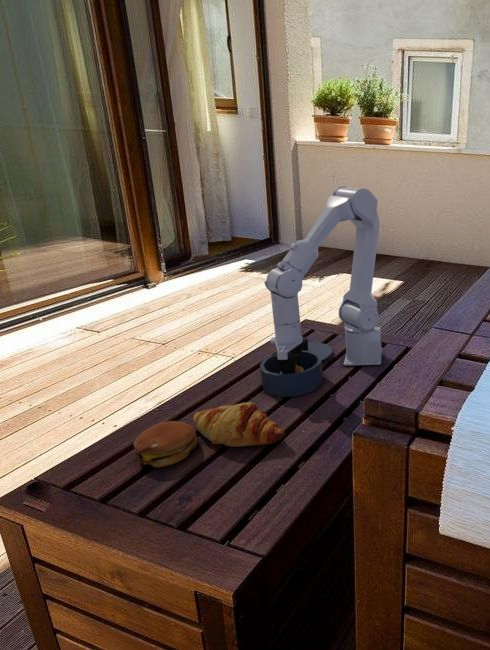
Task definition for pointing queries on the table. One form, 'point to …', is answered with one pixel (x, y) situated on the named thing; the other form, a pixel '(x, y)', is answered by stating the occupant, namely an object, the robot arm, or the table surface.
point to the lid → (317, 348)
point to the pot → (292, 376)
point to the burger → (165, 443)
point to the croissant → (237, 425)
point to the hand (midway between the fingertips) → (292, 374)
